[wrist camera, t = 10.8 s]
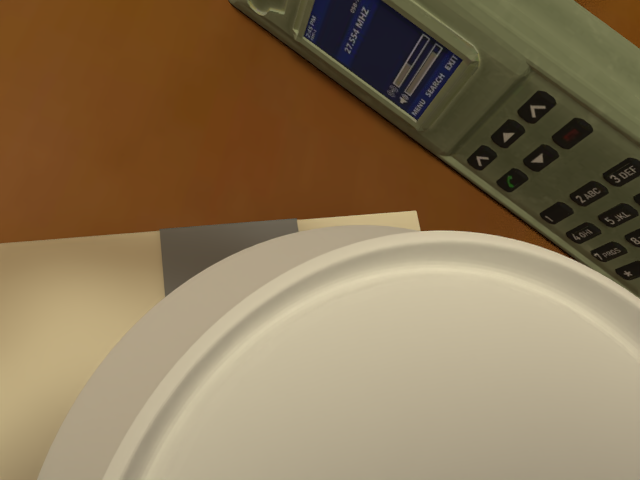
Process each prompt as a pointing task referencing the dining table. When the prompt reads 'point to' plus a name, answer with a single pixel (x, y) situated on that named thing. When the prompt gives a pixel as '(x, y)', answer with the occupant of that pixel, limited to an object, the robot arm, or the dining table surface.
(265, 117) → the dining table surface
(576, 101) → the handheld radio
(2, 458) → the subfloor board
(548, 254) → the beverage can
